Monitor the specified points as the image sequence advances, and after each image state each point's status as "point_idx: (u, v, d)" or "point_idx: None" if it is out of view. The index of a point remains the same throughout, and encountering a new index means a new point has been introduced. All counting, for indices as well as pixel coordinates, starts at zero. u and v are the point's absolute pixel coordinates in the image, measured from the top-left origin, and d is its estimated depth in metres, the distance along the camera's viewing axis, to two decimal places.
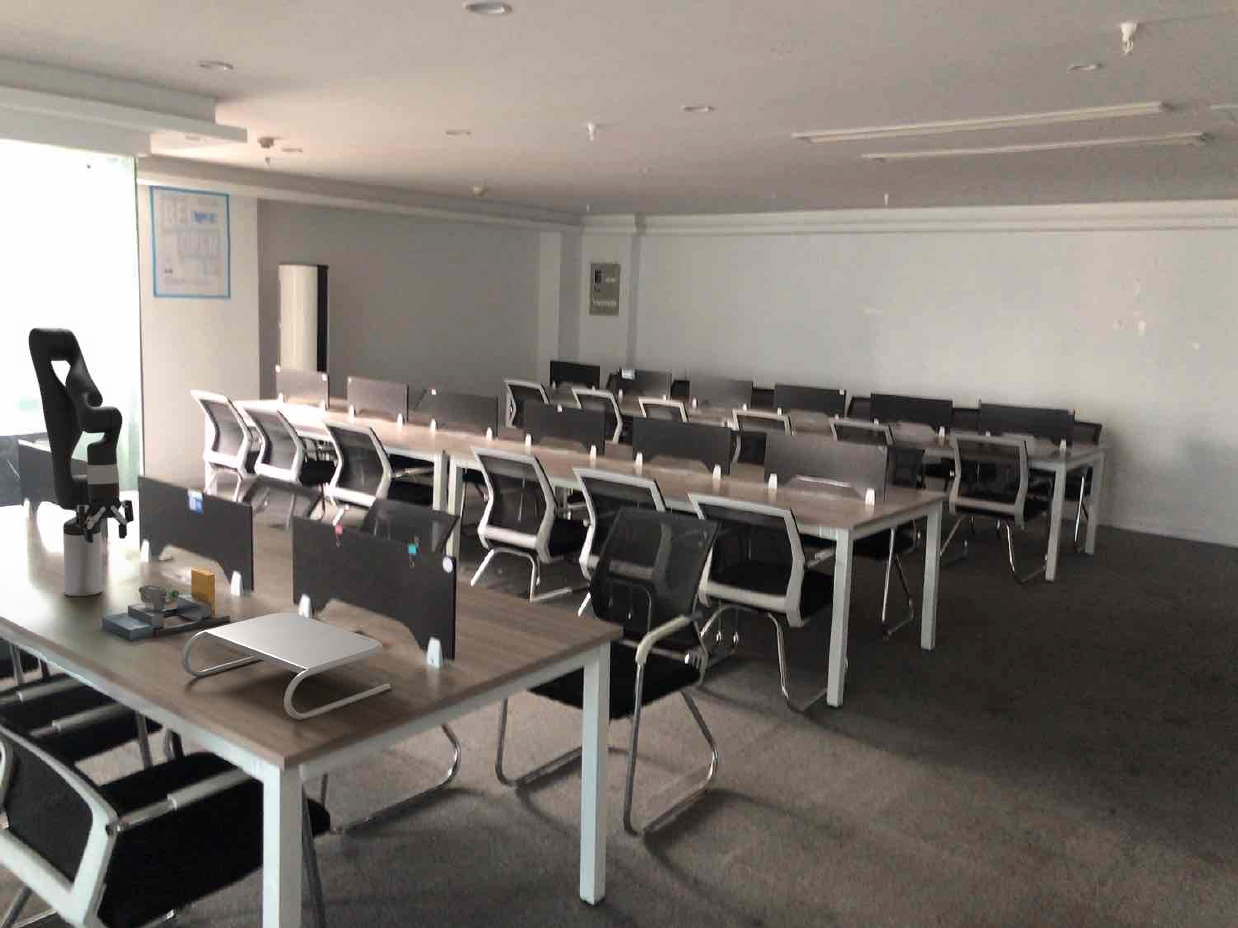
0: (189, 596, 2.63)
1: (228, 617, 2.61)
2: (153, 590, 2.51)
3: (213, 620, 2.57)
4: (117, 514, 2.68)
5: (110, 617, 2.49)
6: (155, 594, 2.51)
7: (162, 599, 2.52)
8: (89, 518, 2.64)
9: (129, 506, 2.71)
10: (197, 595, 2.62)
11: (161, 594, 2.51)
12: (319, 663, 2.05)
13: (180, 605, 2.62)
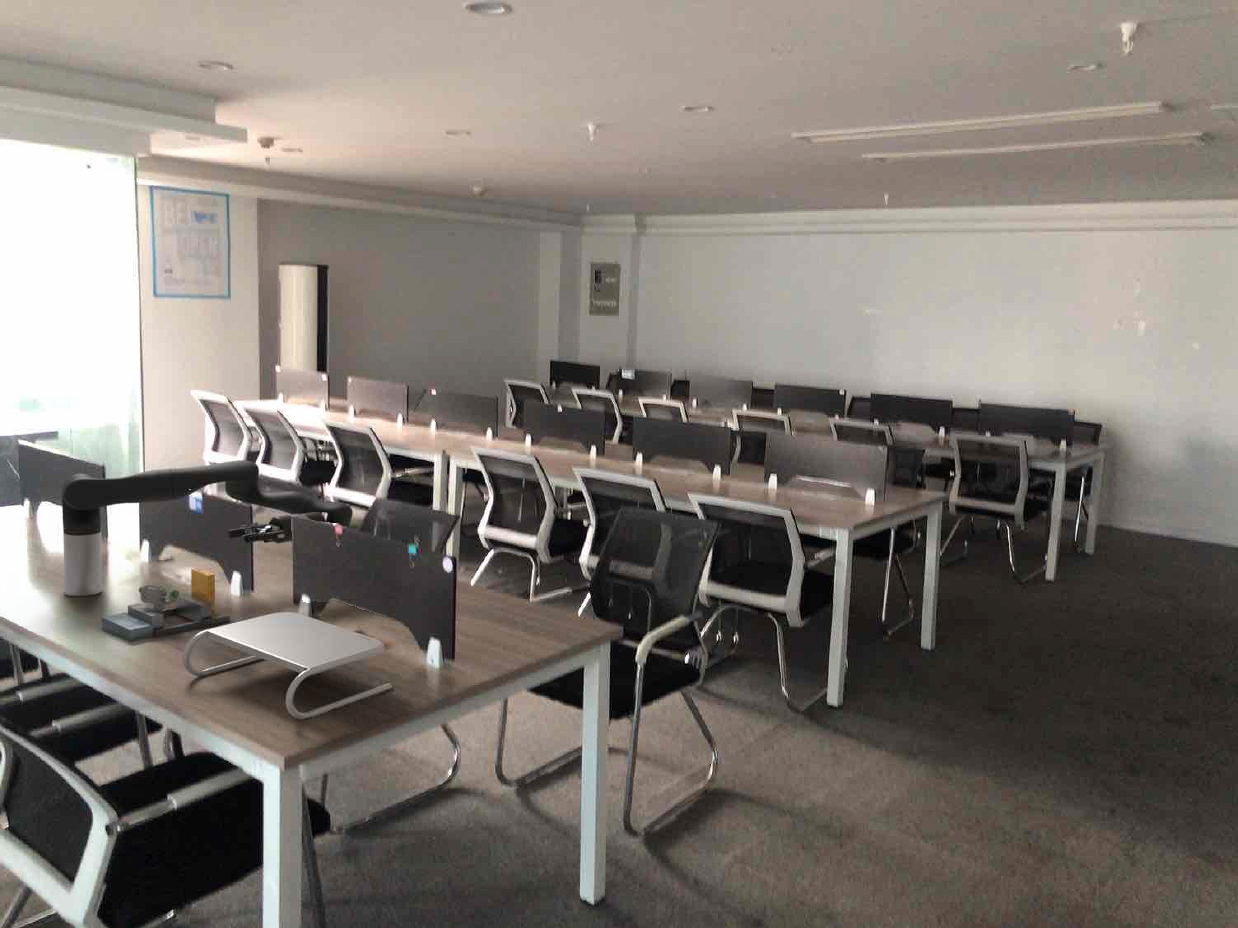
0: (189, 596, 2.63)
1: (228, 617, 2.61)
2: (153, 590, 2.51)
3: (213, 620, 2.57)
4: (265, 528, 2.72)
5: (110, 617, 2.49)
6: (155, 594, 2.51)
7: (162, 599, 2.52)
8: None
9: (277, 531, 2.71)
10: (197, 595, 2.62)
11: (161, 594, 2.51)
12: (320, 662, 2.05)
13: (180, 605, 2.62)
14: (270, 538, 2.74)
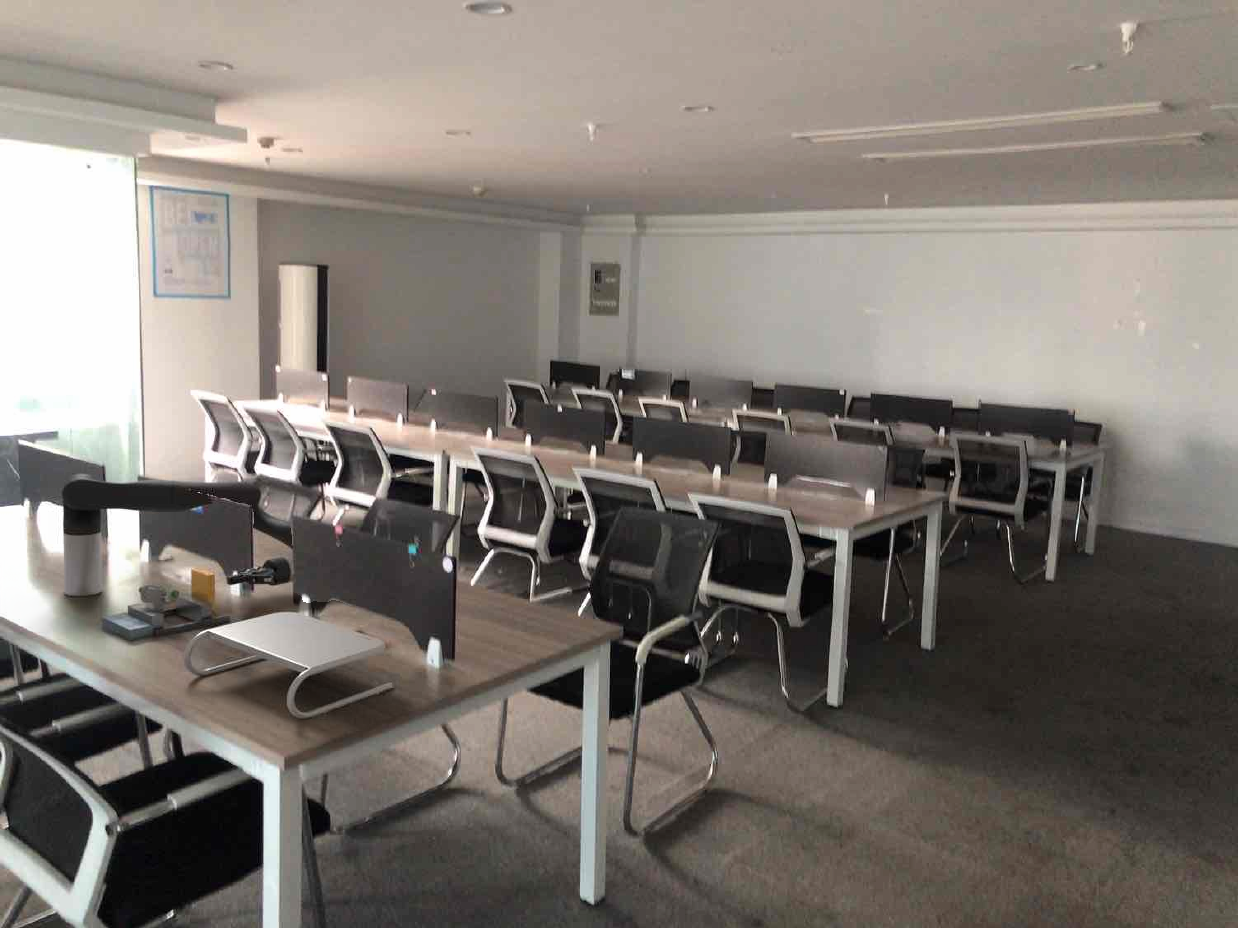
0: (189, 596, 2.63)
1: (228, 617, 2.61)
2: (153, 590, 2.51)
3: (213, 620, 2.57)
4: (255, 570, 2.73)
5: (110, 617, 2.49)
6: (155, 594, 2.51)
7: (162, 599, 2.52)
8: None
9: (264, 574, 2.71)
10: (197, 595, 2.62)
11: (161, 594, 2.51)
12: (321, 662, 2.06)
13: (180, 605, 2.62)
14: None
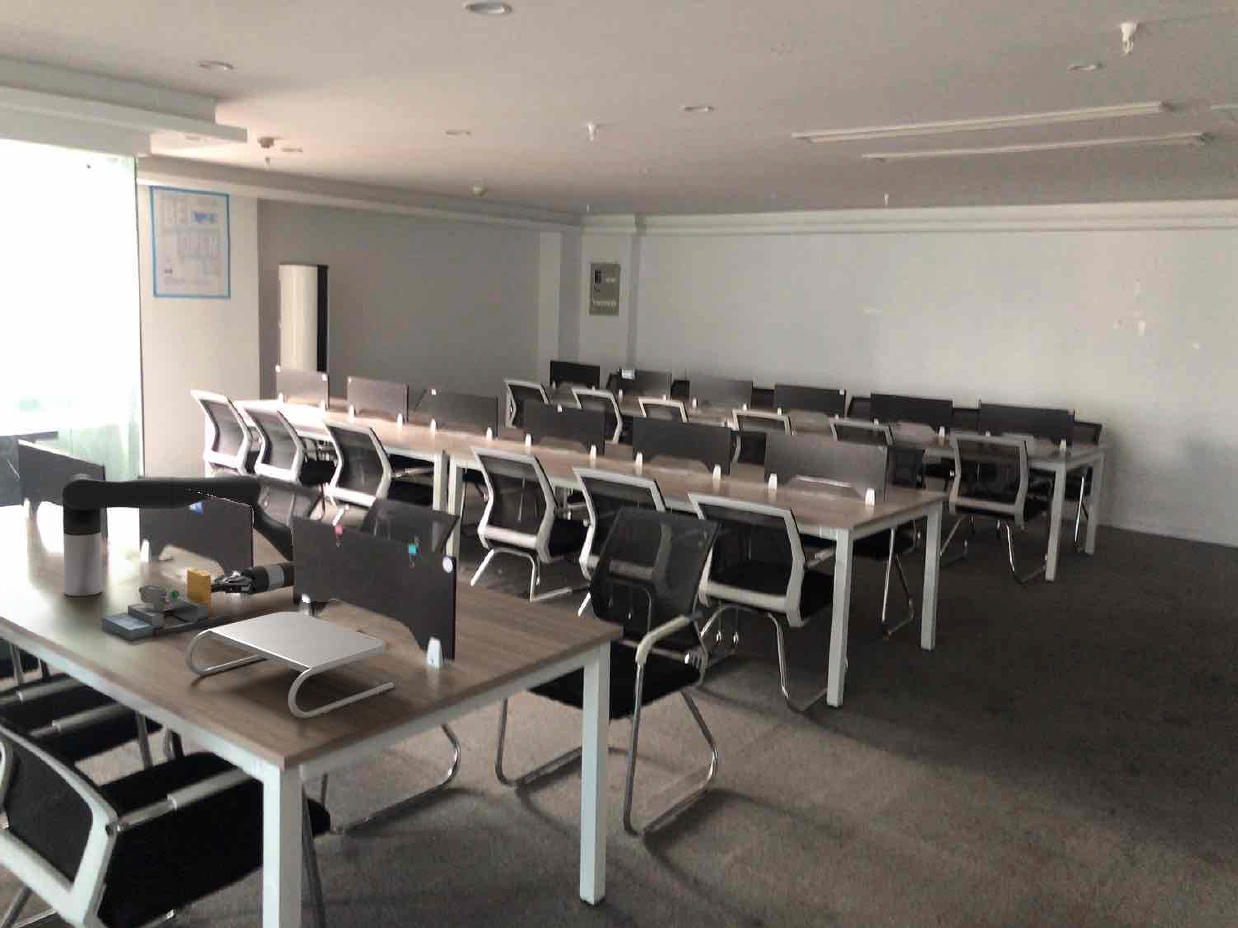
0: (185, 597, 2.62)
1: (228, 617, 2.61)
2: (153, 590, 2.51)
3: (213, 620, 2.57)
4: (233, 579, 2.67)
5: (110, 617, 2.49)
6: (155, 594, 2.51)
7: (162, 599, 2.52)
8: None
9: (242, 583, 2.65)
10: (193, 595, 2.61)
11: (161, 594, 2.51)
12: (323, 662, 2.06)
13: (175, 606, 2.61)
14: None
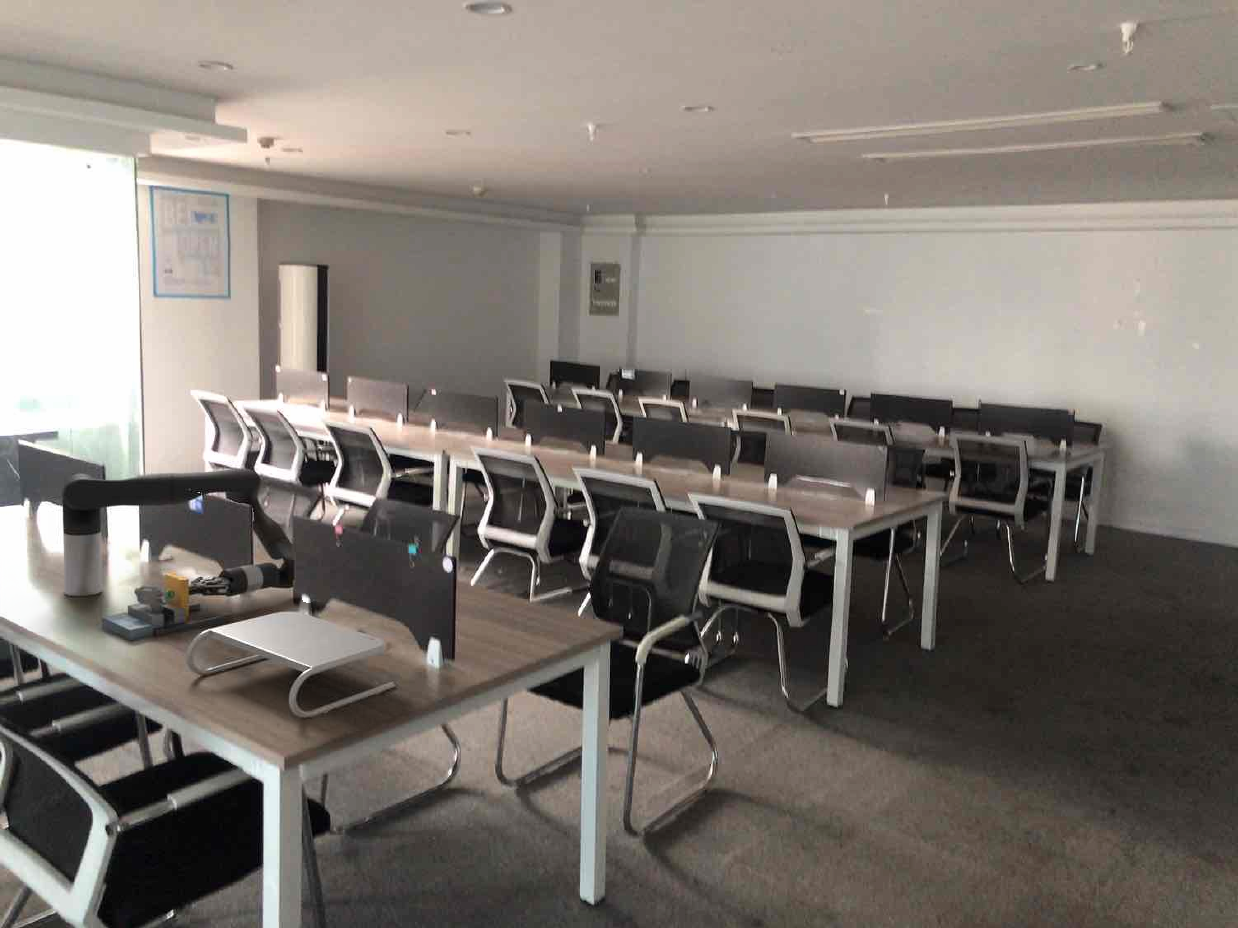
0: None
1: (228, 617, 2.61)
2: (148, 592, 2.50)
3: (213, 620, 2.57)
4: (210, 581, 2.63)
5: (110, 617, 2.49)
6: (151, 595, 2.50)
7: (159, 599, 2.51)
8: None
9: (219, 585, 2.61)
10: None
11: (157, 595, 2.51)
12: (323, 661, 2.06)
13: None
14: None
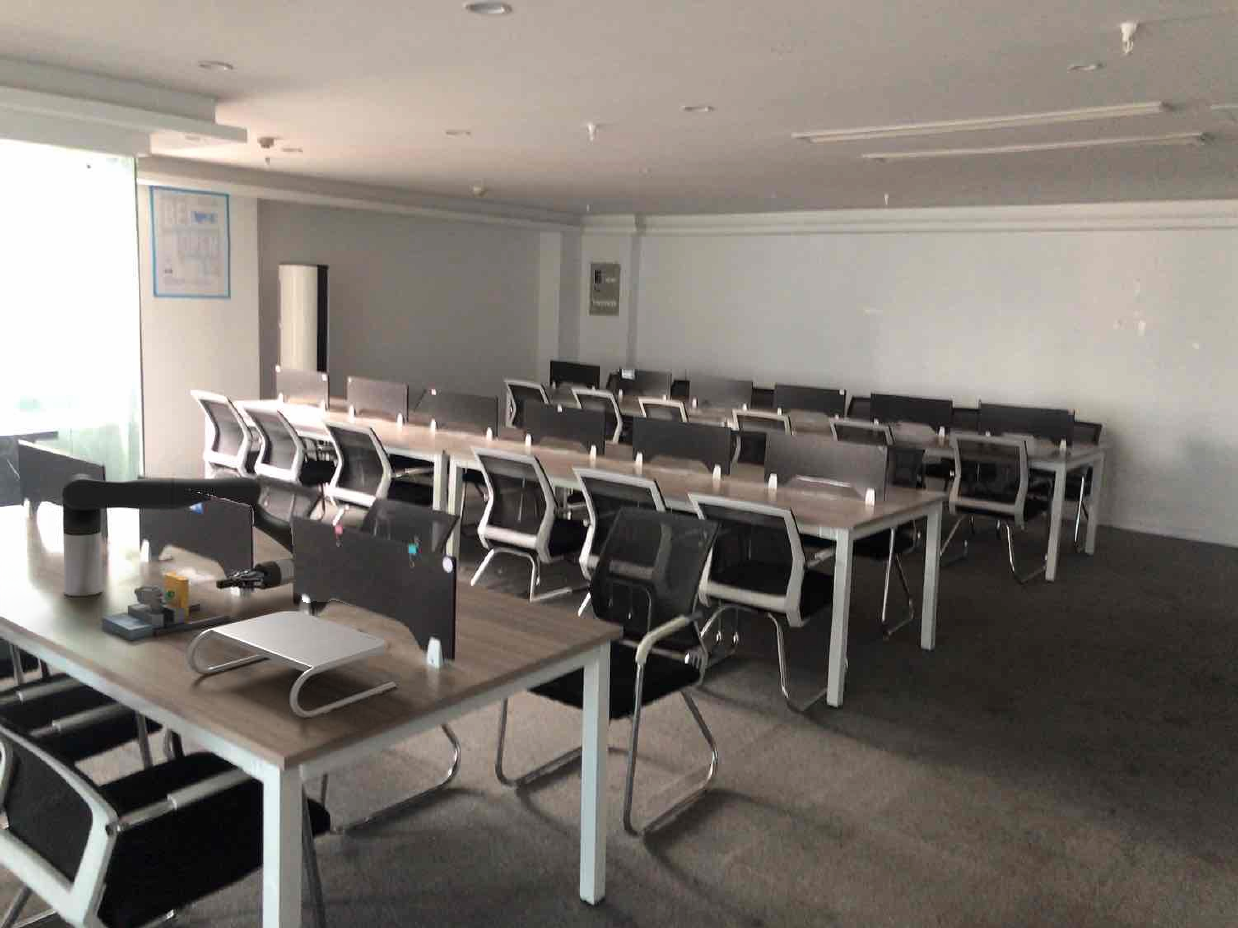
0: None
1: (228, 617, 2.61)
2: (148, 592, 2.50)
3: (213, 620, 2.57)
4: (245, 574, 2.71)
5: (110, 617, 2.49)
6: (151, 595, 2.50)
7: (159, 599, 2.51)
8: None
9: (254, 578, 2.69)
10: None
11: (157, 595, 2.50)
12: (324, 661, 2.06)
13: None
14: None
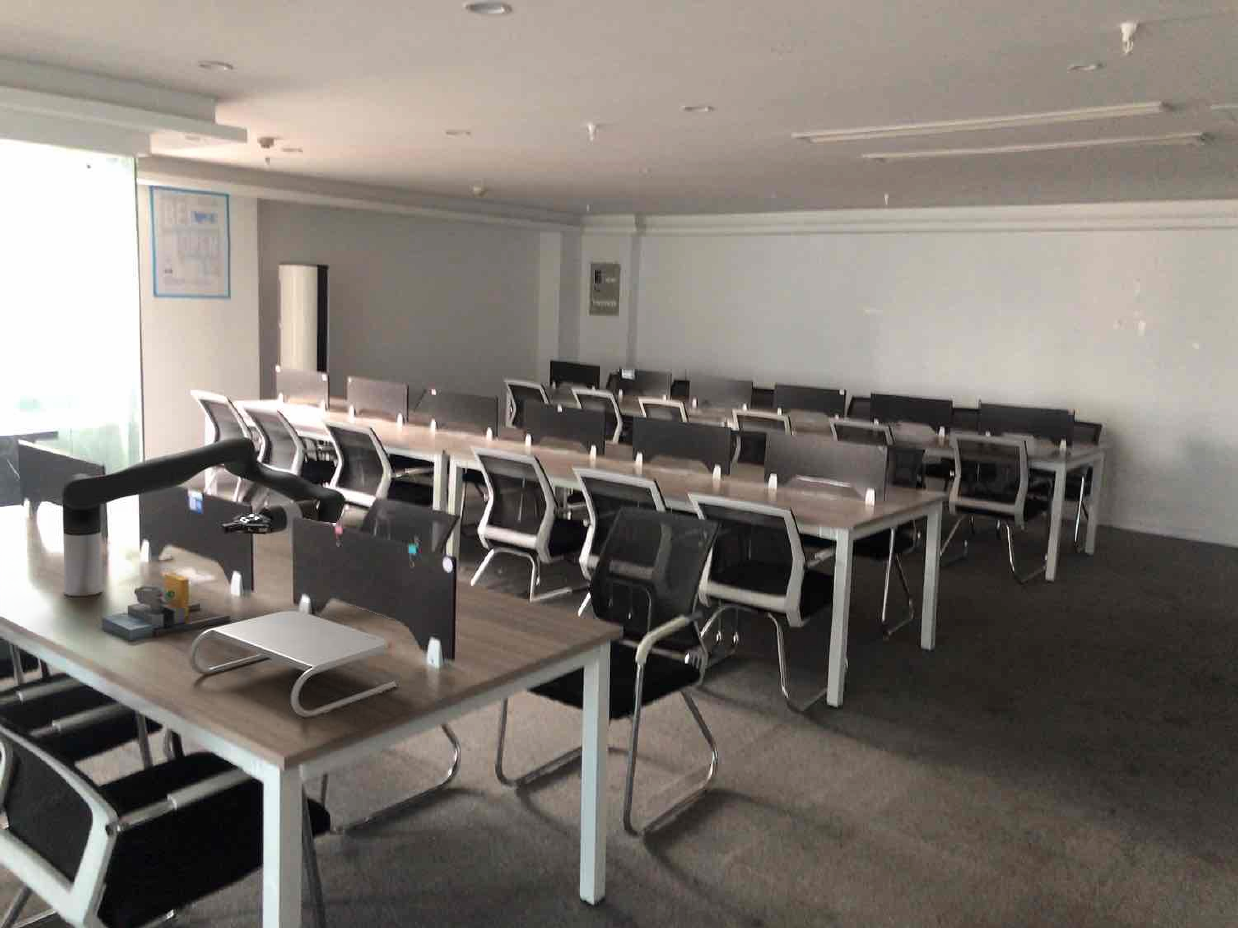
0: None
1: (228, 617, 2.61)
2: (148, 592, 2.50)
3: (213, 620, 2.57)
4: (251, 519, 2.70)
5: (110, 617, 2.49)
6: (151, 595, 2.50)
7: (159, 599, 2.51)
8: None
9: (260, 524, 2.68)
10: None
11: (157, 595, 2.50)
12: (325, 661, 2.07)
13: None
14: None
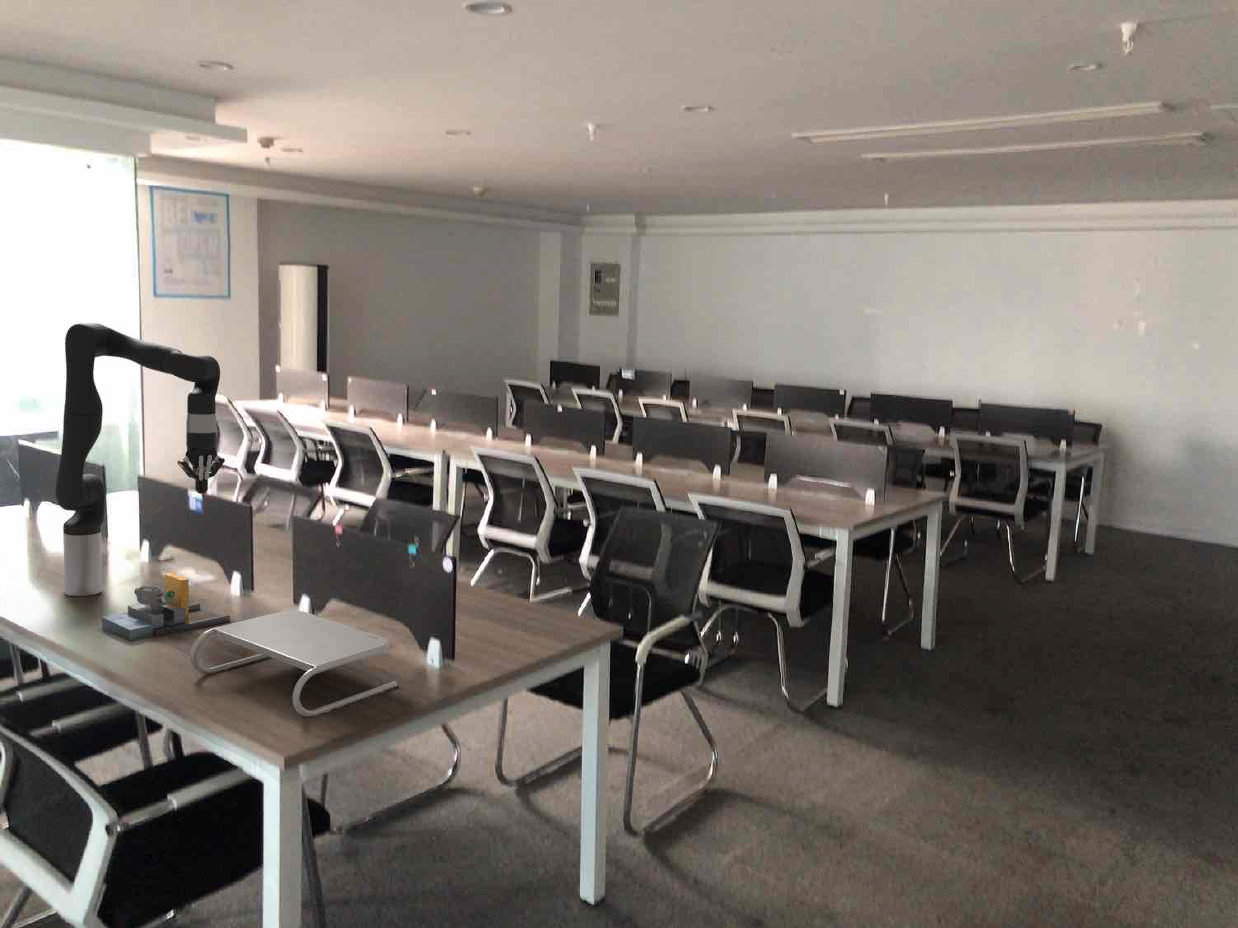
0: None
1: (228, 617, 2.61)
2: (148, 592, 2.50)
3: (213, 620, 2.57)
4: (208, 465, 2.69)
5: (110, 617, 2.49)
6: (151, 595, 2.50)
7: (159, 599, 2.51)
8: (195, 470, 2.68)
9: (220, 463, 2.72)
10: None
11: (157, 595, 2.50)
12: (327, 660, 2.07)
13: None
14: None
